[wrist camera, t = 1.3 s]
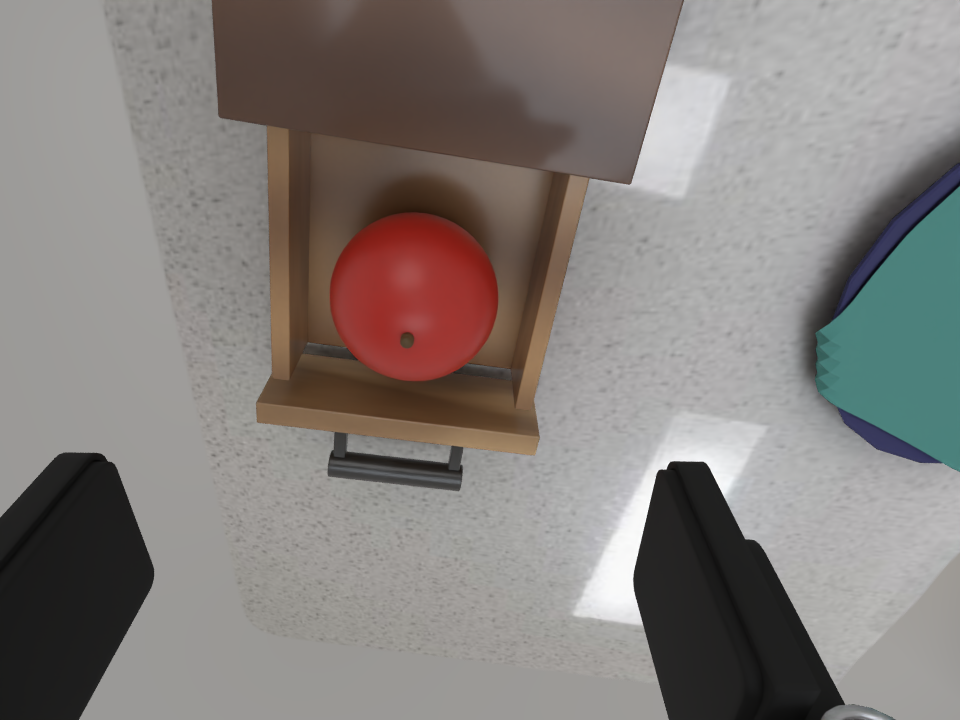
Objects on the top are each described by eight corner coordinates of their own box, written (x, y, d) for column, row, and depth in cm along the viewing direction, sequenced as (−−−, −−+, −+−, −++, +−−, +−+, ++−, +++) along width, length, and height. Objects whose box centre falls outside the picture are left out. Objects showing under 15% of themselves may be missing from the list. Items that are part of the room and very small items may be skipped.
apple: (343, 321, 30) (307, 410, 23) (350, 180, 26) (309, 239, 20) (482, 340, 30) (485, 432, 24) (508, 204, 27) (519, 270, 20)
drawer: (513, 457, 36) (518, 517, 32) (284, 430, 34) (258, 489, 30) (605, 80, 25) (631, 96, 21) (280, 22, 24) (241, 27, 20)
